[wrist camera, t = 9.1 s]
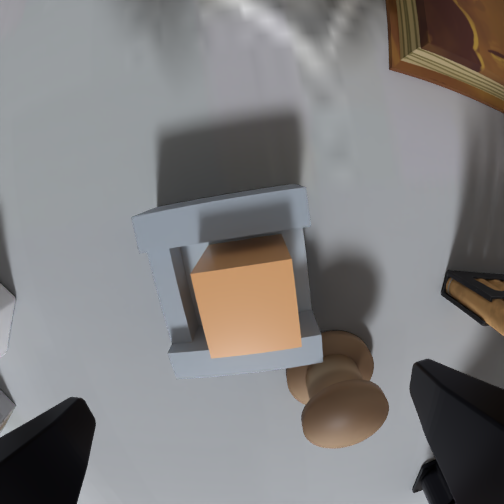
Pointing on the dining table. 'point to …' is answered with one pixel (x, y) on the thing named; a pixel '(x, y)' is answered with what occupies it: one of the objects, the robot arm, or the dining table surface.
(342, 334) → the wooden knob
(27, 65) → the dining table surface
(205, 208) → the notched board
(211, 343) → the block
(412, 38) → the diary
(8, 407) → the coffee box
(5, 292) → the medicine bottle
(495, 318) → the ammunition clip
